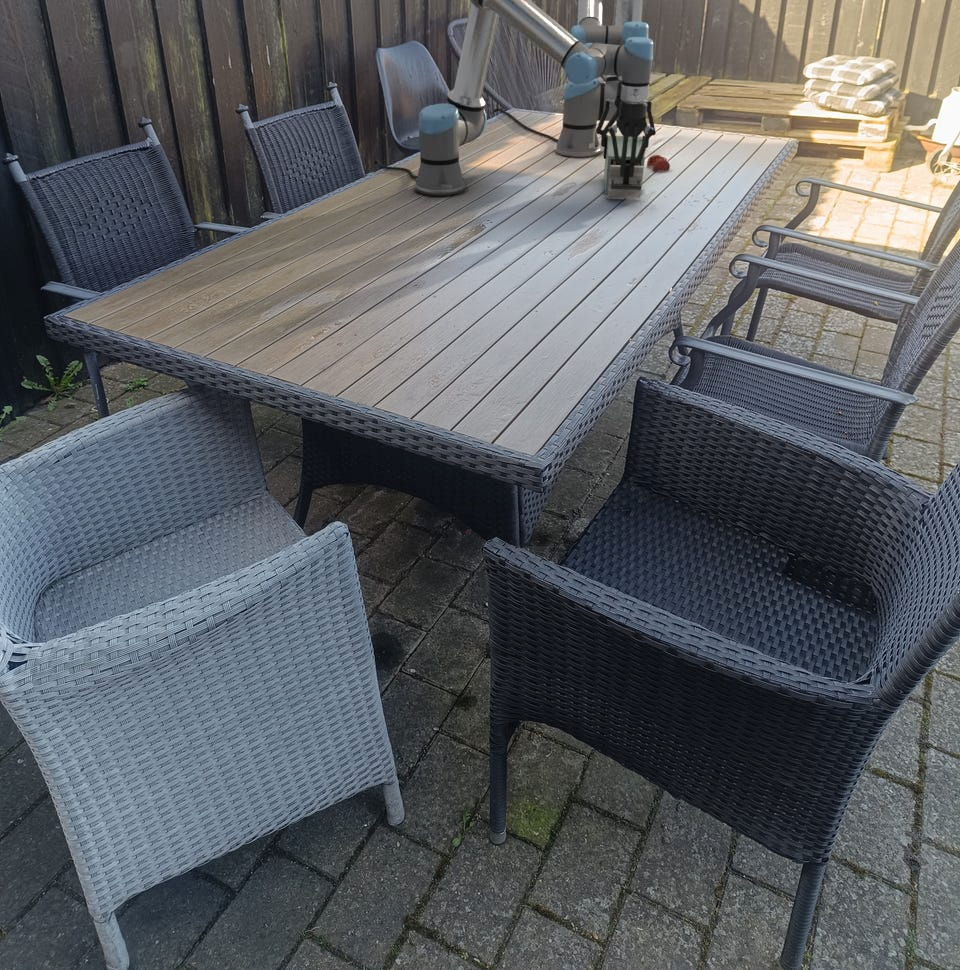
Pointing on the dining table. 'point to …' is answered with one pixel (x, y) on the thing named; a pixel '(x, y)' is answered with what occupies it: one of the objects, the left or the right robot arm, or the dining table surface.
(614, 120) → the right robot arm
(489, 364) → the dining table surface
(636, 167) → the drawer
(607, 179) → the cabinet
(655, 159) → the red-brown rounded lump
